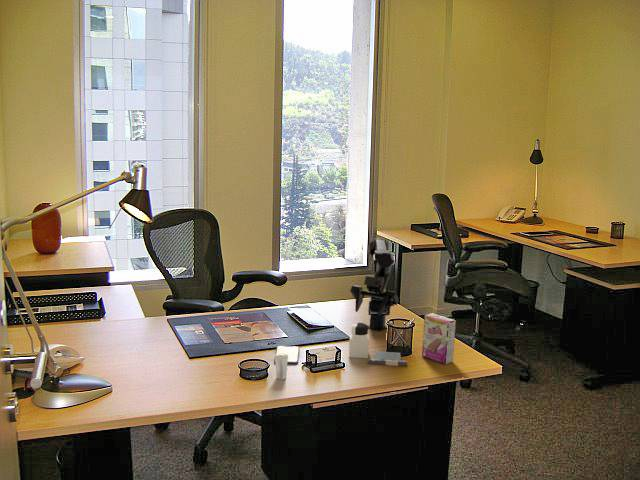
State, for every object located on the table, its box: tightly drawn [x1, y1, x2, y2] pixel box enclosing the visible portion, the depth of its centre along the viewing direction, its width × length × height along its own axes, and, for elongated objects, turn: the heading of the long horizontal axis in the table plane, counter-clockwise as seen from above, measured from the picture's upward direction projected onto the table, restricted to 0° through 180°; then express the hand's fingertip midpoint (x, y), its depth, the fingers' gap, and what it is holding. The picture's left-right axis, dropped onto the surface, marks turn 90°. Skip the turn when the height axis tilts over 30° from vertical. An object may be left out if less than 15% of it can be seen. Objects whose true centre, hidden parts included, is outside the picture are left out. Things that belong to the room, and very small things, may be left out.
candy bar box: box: [421, 312, 457, 365], centre depth 261 cm, size 11×5×16 cm, turn 44°
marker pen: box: [367, 357, 408, 367], centre depth 256 cm, size 2×14×2 cm, turn 84°
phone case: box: [273, 345, 300, 366], centre depth 261 cm, size 9×2×16 cm
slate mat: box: [374, 350, 402, 360], centre depth 263 cm, size 10×10×1 cm
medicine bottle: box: [348, 322, 370, 359], centre depth 264 cm, size 7×7×12 cm
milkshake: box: [272, 351, 288, 381], centre depth 240 cm, size 4×5×10 cm
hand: (367, 313), depth 269 cm, fingers open, 9 cm apart
